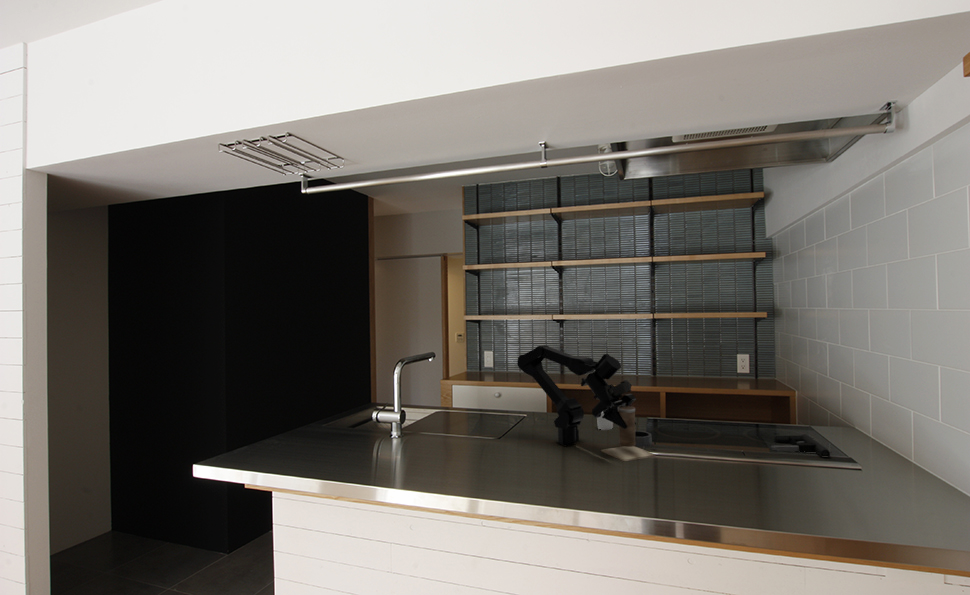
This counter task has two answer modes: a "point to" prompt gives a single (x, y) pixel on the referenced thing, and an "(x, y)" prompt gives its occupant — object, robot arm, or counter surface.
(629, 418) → the tapered cup
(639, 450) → the beige cloth napkin
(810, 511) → the counter surface
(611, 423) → the shot glass
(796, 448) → the door handle
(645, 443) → the cup
